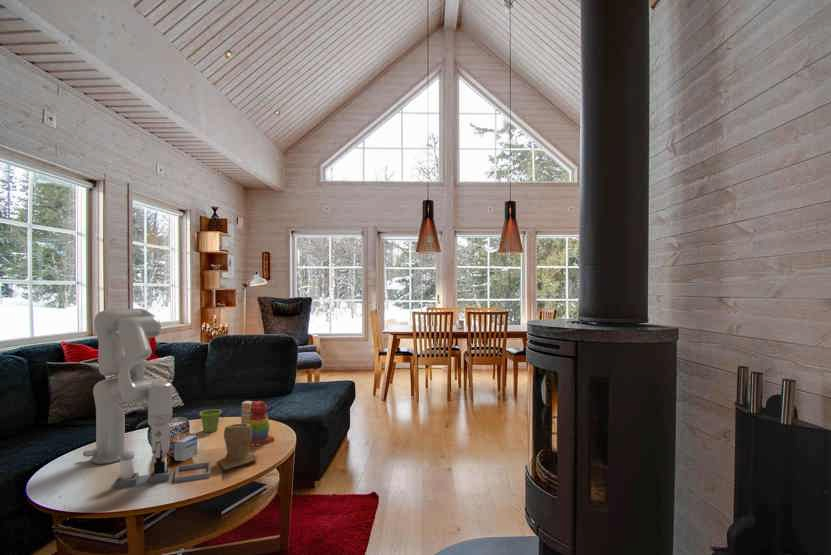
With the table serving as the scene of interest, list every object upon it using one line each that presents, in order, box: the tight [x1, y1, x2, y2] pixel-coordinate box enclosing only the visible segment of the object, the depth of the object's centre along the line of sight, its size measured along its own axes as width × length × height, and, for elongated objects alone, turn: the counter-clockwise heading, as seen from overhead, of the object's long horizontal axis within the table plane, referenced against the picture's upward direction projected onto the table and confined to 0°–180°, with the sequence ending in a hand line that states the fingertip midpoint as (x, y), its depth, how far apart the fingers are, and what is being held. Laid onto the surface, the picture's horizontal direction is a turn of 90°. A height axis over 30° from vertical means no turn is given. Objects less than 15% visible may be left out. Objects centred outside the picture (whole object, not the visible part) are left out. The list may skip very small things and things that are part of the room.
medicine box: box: [174, 435, 198, 462], centre depth 186 cm, size 8×4×9 cm, turn 168°
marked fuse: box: [153, 451, 168, 476], centre depth 165 cm, size 4×4×10 cm
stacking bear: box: [248, 400, 275, 446], centre depth 207 cm, size 11×10×18 cm
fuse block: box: [110, 467, 175, 492], centre depth 164 cm, size 18×10×4 cm, turn 112°
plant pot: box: [199, 409, 222, 433], centre depth 223 cm, size 9×9×9 cm
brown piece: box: [217, 423, 259, 471], centre depth 182 cm, size 15×12×15 cm
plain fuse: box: [119, 451, 135, 481], centre depth 162 cm, size 4×4×10 cm
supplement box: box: [240, 400, 257, 424], centre depth 224 cm, size 8×5×13 cm, turn 80°
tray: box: [173, 461, 212, 483], centre depth 169 cm, size 11×11×3 cm
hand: (160, 470), depth 165 cm, fingers closed on marked fuse, 4 cm apart
